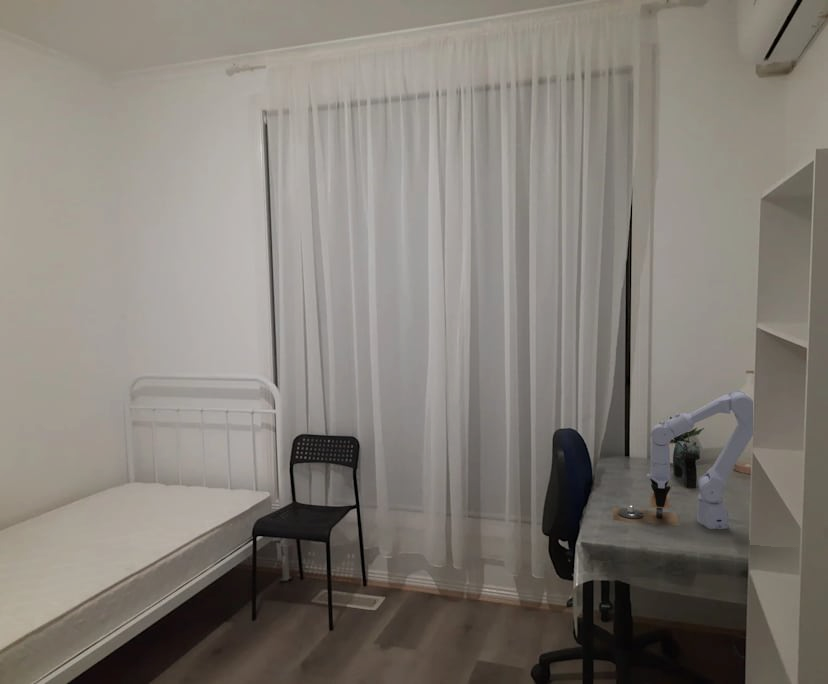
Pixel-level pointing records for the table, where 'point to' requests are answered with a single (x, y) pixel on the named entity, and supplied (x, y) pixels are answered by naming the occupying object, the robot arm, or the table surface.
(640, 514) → the hub
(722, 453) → the robot arm
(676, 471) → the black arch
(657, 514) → the stand rod
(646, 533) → the table surface
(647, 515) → the walnut board
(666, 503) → the collar
